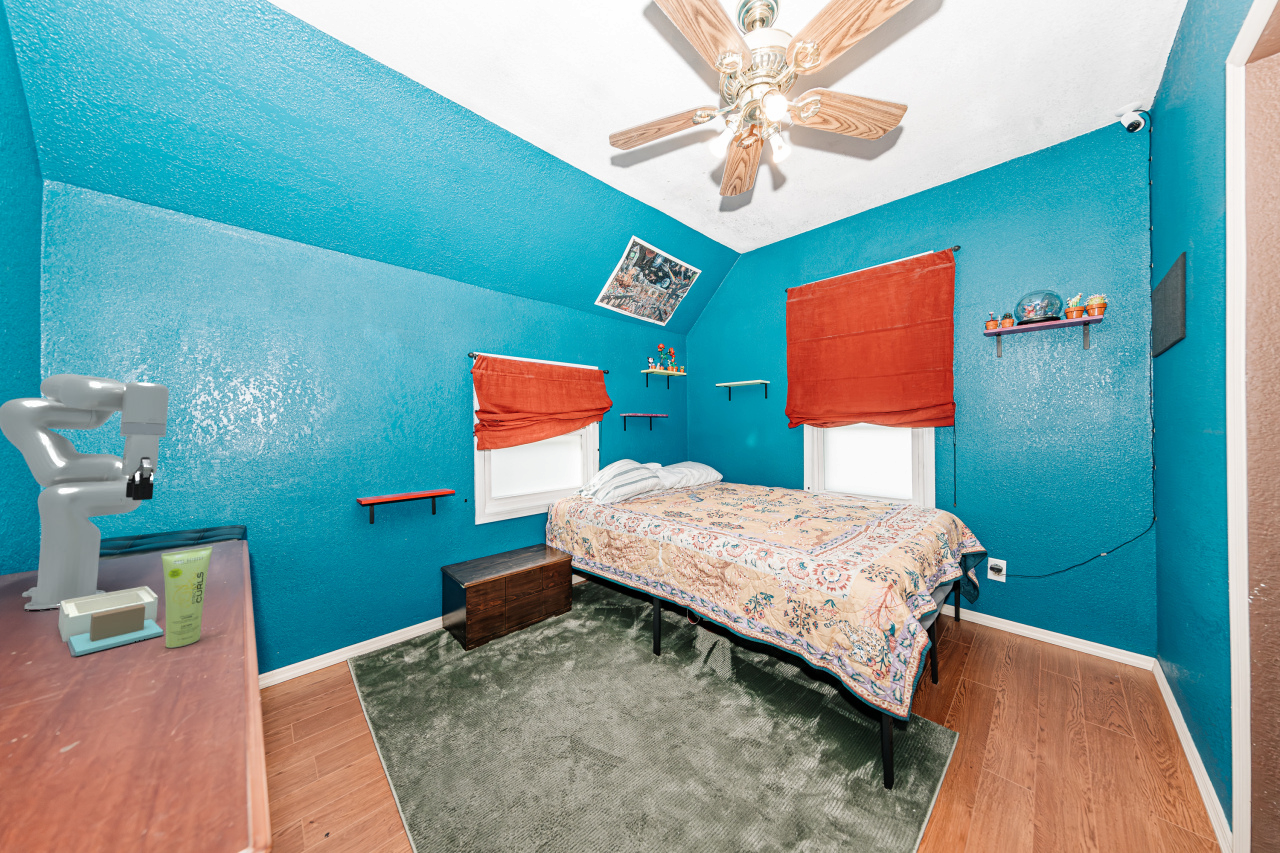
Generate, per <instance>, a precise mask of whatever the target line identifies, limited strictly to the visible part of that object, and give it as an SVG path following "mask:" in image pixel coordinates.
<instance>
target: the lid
mask: <svg viewBox="0 0 1280 853" xmlns="http://www.w3.org/2000/svg"><path fill="white" fill-rule="evenodd" d="M144 618H145V606H144V605H143V604H139V605H134V606H129V607H124V608H119V609H114V610H109V611H104V612H99V613H94V614H91V625H90V633H85V634H81V635H76V636H72V637H69V642H70V644H71V646H72V648H73V651H74V653H75V655H76V656H75V657H78V656H82V655H86V654H90V653H94V652H99V651H104V650H106V649H110V648H111V647H112V648H114V647H115V646H116V647H118V646H119V645H120V646H123V644H124V645H128V644H130V643H131V642H132V643H135V641H136V642H140V641H144V639H145V640H147V639H148V638H149V639H152V637H153V638H156V636H157V637H159V636H160V635H161V636H163V633H164V630H163V629H162V628H161V626H159V625H158V624H157V623H156V622H154V621H153V620H152V619H149V620H144ZM161 636H160V637H161ZM139 640H140V641H139ZM127 643H128V644H127ZM120 646H119V647H120Z"/></svg>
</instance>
